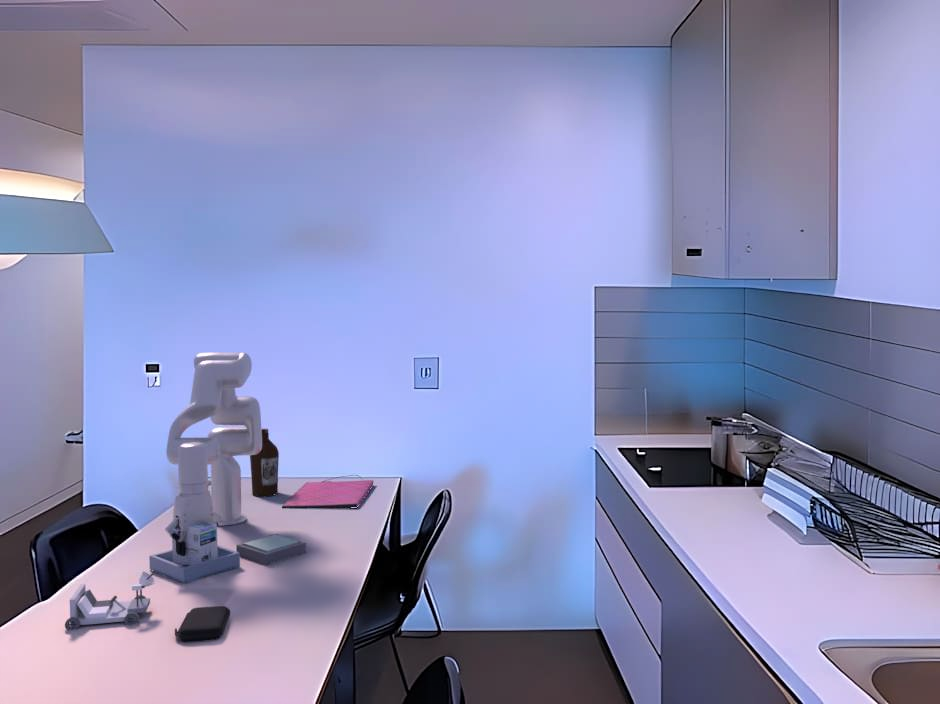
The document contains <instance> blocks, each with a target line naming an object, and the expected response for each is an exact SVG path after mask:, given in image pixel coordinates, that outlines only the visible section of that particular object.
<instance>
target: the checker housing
mask: <svg viewBox="0 0 940 704" xmlns="http://www.w3.org/2000/svg"><path fill="white" fill-rule="evenodd" d="M272 535H278V536H281V537H285V538H288V539H291V540H295V541H298V543H299V544H295V545H292V546H289V547H285V548H282V549H279V550H275V551H272V552H269V553H266V552H262V551H259V550H256V549H253V548H250V547H247V546H244V543H247V542H251V541H254V540H258V539H261V538H265V537H268V536H272ZM235 545H236V546H235V547H236V548H235V549H236V552H239V553H240V557H241V556H242V557H241V558H245V559H247V558H248V559H247V560H250V561H253V562H257V563H259V564H262V565H265V566H268V565H271V563H272V564H275V563H278V562H281V561H284V560H287V559H290V558H289V557H291V558H294V557H297V556H300V555H303V554H306V553H307V543H306V542H305V541H302V540H298V539H296V538H292V537H288V536H284V535H283V534H278V533H273V534H270V535H267V536H263V537H260V538H257V539H252V540H249V541H245V542H242V543H237V544H235ZM305 552H306V553H305ZM299 554H300V555H299ZM296 555H297V556H296ZM293 556H294V557H293ZM280 560H281V561H280ZM277 561H278V562H277ZM274 562H275V563H274Z"/></svg>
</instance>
